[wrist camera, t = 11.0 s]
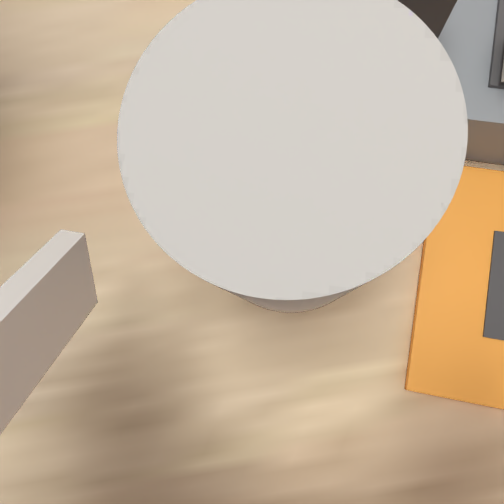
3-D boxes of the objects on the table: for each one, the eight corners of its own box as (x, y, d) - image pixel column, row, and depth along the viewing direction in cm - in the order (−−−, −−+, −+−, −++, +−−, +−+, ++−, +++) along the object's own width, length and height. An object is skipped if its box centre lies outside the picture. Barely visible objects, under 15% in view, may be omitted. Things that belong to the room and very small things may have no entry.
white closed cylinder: (395, 185, 22) (516, 24, 10) (337, 338, 21) (395, 359, 9) (246, 134, 23) (196, -66, 11) (186, 276, 22) (62, 222, 10)
